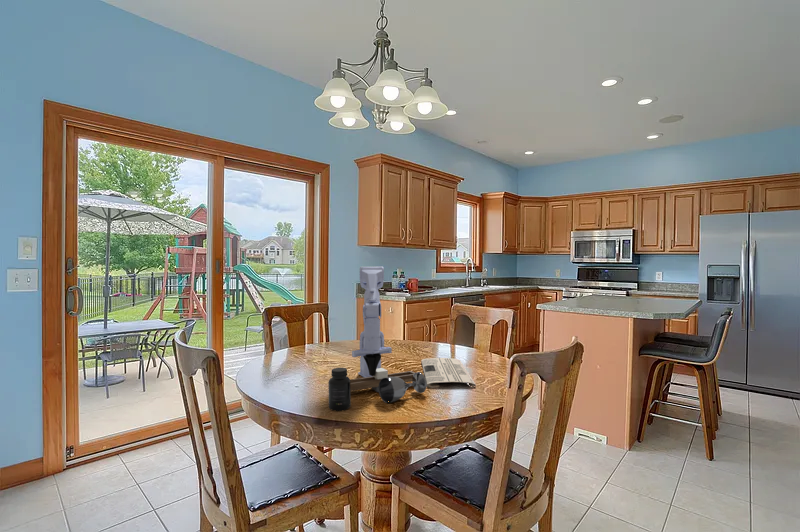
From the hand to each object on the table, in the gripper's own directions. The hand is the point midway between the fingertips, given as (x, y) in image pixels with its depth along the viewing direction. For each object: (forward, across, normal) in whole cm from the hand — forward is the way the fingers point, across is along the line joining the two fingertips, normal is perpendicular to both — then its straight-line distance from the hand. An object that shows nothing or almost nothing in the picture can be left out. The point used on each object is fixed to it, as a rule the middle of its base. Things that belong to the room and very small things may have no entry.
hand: (372, 375), depth 143 cm
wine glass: (+2, +14, -10) cm, 17 cm away
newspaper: (+6, +36, +6) cm, 37 cm away
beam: (+5, +3, 0) cm, 6 cm away
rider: (+2, +3, 0) cm, 4 cm away
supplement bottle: (+6, -16, -11) cm, 20 cm away
